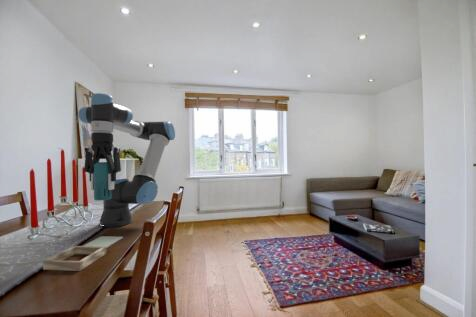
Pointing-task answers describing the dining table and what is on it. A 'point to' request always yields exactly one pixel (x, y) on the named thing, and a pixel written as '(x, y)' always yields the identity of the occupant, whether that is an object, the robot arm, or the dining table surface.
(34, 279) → the dining table surface
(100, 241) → the rubber mat
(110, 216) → the robot arm
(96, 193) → the beverage bottle
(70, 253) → the wooden collar
